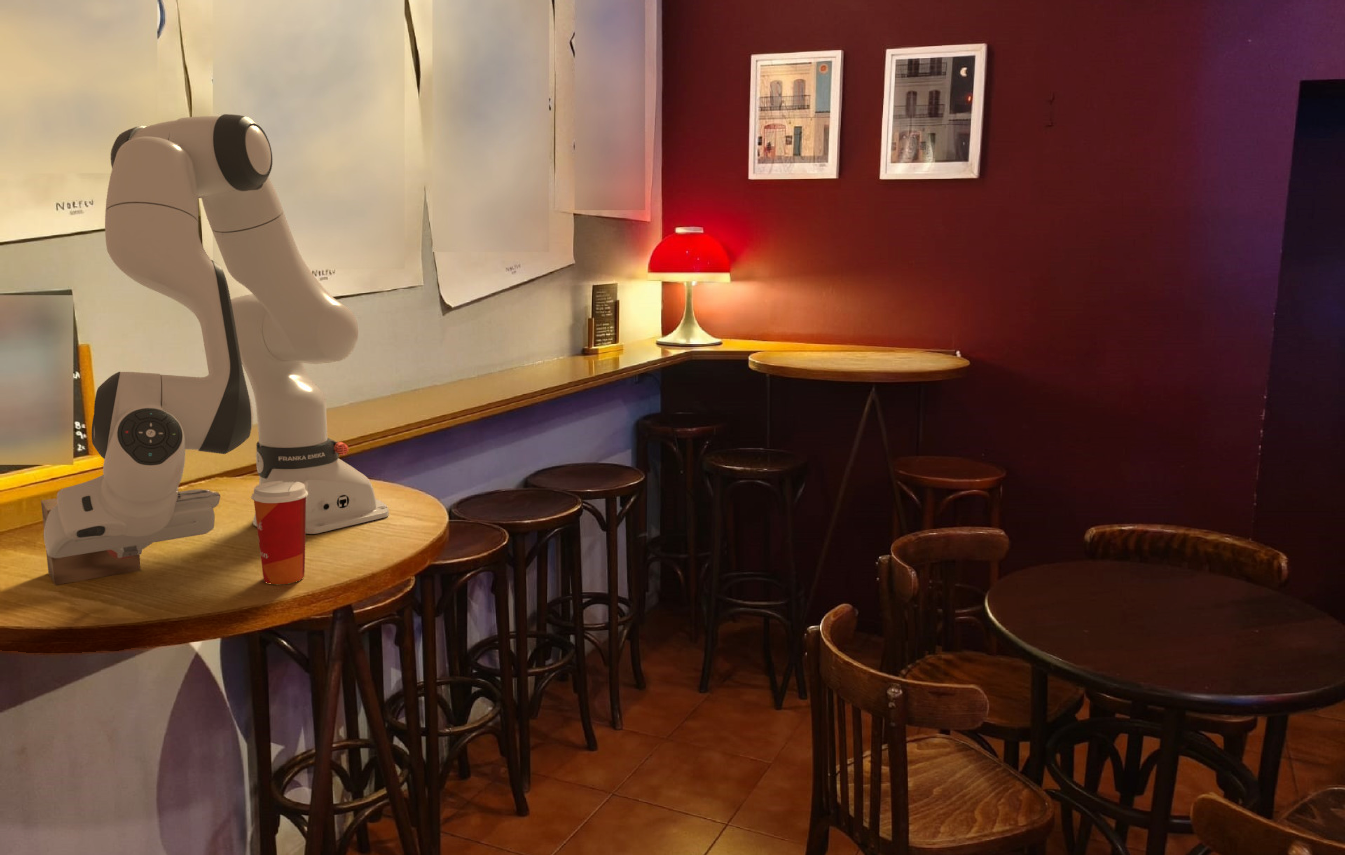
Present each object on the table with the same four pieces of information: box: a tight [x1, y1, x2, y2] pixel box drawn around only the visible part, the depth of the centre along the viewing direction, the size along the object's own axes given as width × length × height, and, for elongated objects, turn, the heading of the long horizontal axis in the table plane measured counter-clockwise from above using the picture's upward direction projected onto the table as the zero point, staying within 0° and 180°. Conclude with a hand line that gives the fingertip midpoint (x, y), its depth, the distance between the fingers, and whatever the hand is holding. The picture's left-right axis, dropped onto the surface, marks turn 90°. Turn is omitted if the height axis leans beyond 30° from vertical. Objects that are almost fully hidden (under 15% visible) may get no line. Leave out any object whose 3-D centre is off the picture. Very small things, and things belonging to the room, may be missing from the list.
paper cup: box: [250, 481, 308, 586], centre depth 145 cm, size 8×8×14 cm
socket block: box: [40, 497, 142, 586], centre depth 146 cm, size 11×7×11 cm, turn 129°
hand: (128, 551), depth 139 cm, fingers closed
